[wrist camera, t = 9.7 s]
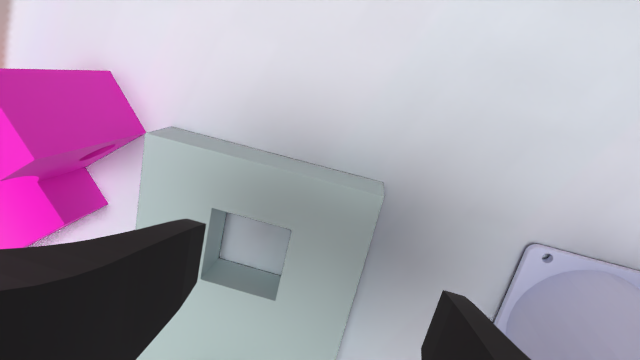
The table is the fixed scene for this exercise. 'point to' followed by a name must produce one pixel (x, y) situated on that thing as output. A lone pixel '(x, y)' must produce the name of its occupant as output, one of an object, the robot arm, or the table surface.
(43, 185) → the toy block
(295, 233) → the board
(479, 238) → the table surface
